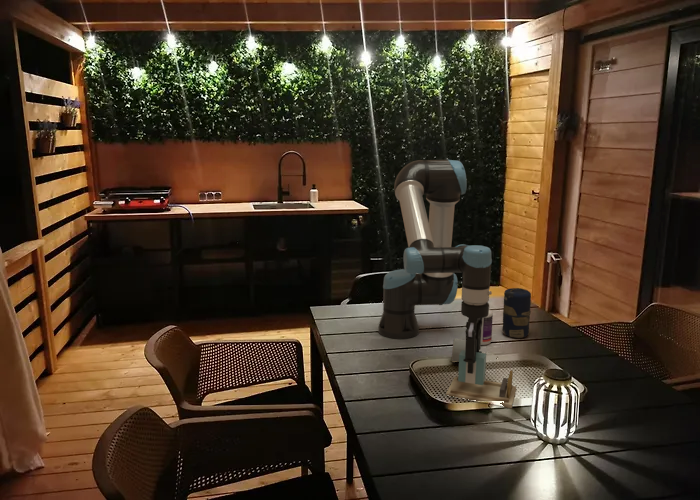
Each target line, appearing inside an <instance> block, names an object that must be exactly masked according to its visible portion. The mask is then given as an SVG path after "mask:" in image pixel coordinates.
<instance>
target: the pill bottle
mask: <svg viewBox="0 0 700 500" xmlns="http://www.w3.org/2000/svg"><path fill="white" fill-rule="evenodd" d="M493 314H494V313H493V311H492V310H491V309H490V308H489V314H488V316H487V317H485V318H483V319H482V327H481V345H480V346H486V345H489V344H491V342H492V341H493V340H492V339H493V336H492V335H493V317H494V315H493Z"/></svg>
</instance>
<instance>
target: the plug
mask: <svg viewBox="0 0 700 500" xmlns="http://www.w3.org/2000/svg"><path fill="white" fill-rule="evenodd" d="M463 359H465V350H462V351H461V353H460V354H459V363H458V375H457V376H458V381H460V382H465V377H466V362H465V361H463ZM486 366H487V353H484V352H482V353H479V352H476V379H475V384H478V385H483V384H484V381H485V380H486V368H487V367H486Z"/></svg>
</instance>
